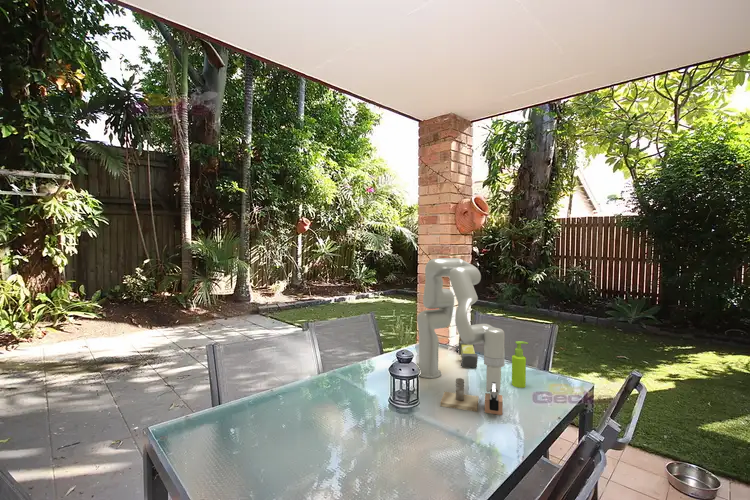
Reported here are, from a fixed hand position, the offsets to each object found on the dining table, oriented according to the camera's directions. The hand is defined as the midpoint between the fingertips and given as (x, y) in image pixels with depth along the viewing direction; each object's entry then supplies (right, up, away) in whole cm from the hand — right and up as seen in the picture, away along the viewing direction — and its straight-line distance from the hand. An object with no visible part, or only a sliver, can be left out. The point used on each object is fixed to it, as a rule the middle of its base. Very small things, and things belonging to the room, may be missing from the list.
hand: (494, 404), depth 137 cm
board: (-12, -2, +6) cm, 14 cm away
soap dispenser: (+20, -2, +25) cm, 32 cm away
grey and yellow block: (+4, -2, +62) cm, 63 cm away
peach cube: (0, -2, 0) cm, 2 cm away
